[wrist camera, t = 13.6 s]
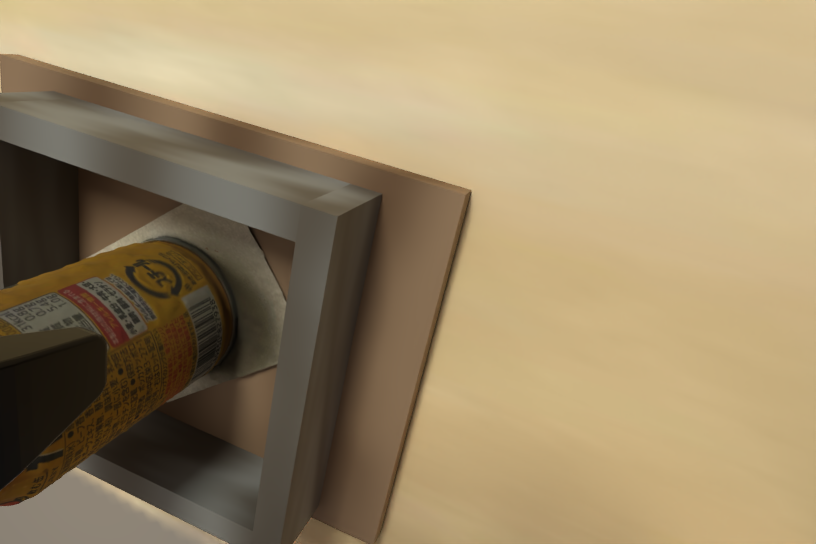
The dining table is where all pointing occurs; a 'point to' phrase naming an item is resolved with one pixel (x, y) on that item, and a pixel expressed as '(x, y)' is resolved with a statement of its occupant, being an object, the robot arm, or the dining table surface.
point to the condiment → (152, 325)
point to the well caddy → (293, 270)
